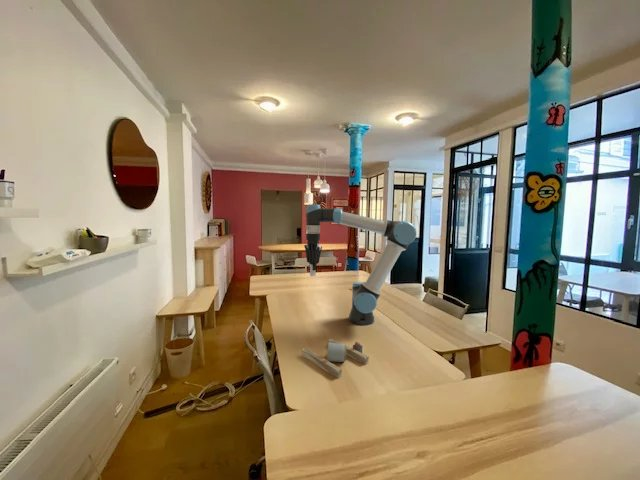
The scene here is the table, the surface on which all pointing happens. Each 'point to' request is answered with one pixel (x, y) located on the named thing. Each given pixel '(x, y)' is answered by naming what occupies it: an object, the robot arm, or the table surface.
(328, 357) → the ceramic mug
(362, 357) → the beam channel
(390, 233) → the robot arm
